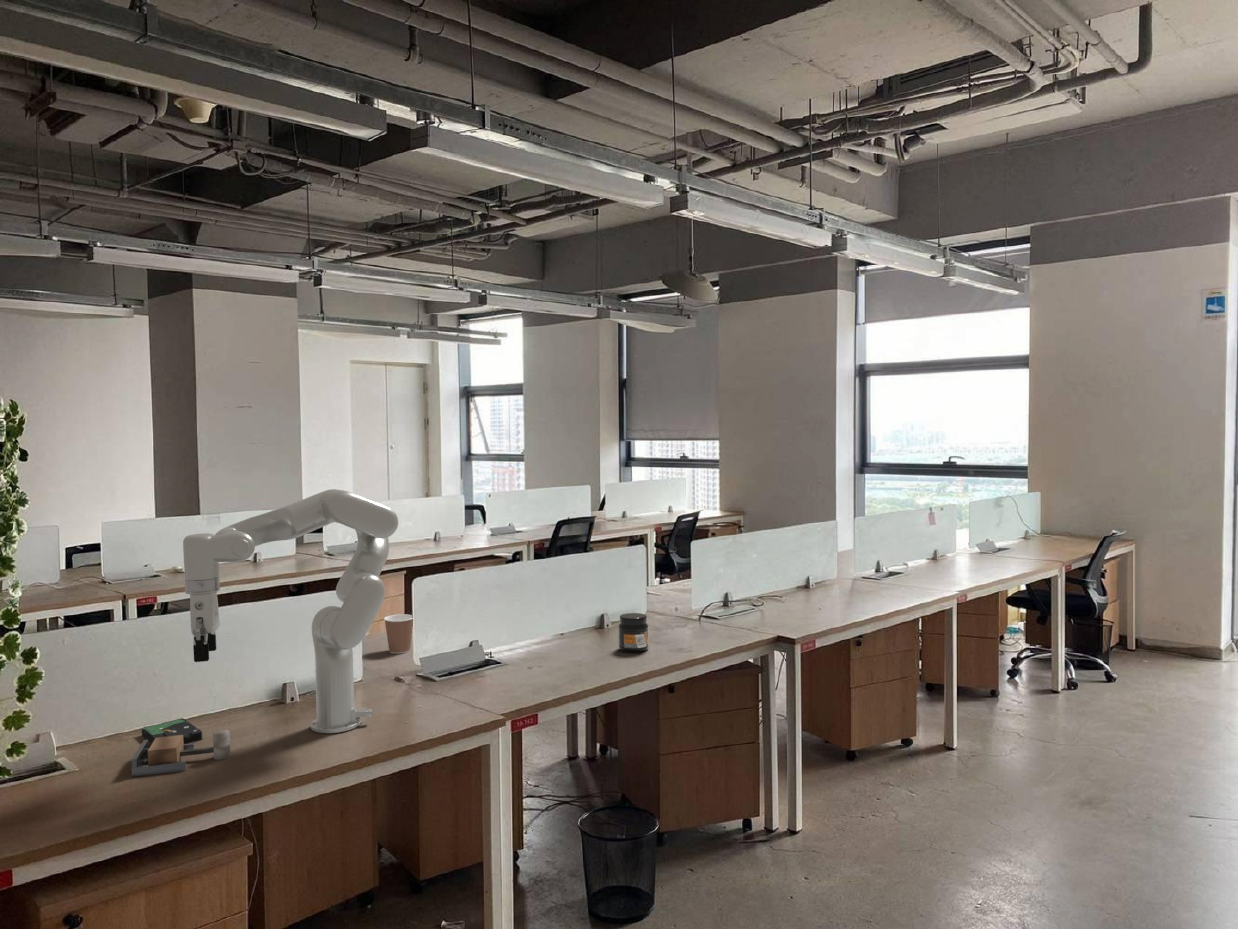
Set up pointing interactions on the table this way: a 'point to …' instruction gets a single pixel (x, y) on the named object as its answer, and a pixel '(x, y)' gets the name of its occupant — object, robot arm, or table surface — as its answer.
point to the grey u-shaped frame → (142, 769)
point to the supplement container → (633, 633)
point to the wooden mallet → (174, 750)
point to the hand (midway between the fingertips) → (205, 656)
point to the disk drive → (173, 731)
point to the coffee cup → (399, 632)
